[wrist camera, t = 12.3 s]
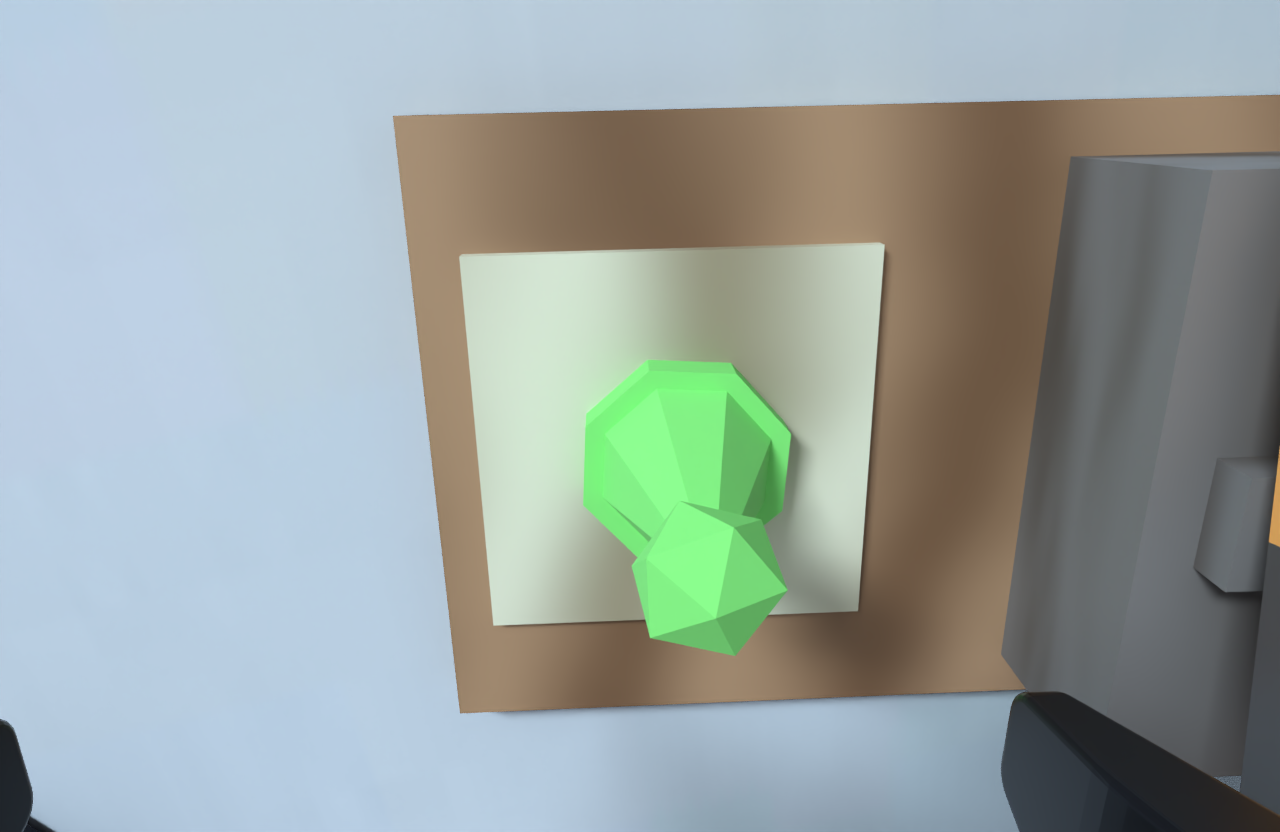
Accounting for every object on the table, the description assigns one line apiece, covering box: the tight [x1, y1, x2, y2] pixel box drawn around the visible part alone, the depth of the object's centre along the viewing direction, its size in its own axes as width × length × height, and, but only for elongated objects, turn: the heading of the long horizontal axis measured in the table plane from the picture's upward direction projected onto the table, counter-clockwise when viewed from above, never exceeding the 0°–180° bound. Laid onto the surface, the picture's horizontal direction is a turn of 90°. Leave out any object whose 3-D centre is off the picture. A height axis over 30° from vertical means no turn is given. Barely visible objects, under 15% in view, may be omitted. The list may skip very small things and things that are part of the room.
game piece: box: [583, 360, 791, 656], centre depth 15 cm, size 4×4×6 cm
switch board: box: [393, 95, 1280, 777], centre depth 16 cm, size 21×13×6 cm, turn 91°
